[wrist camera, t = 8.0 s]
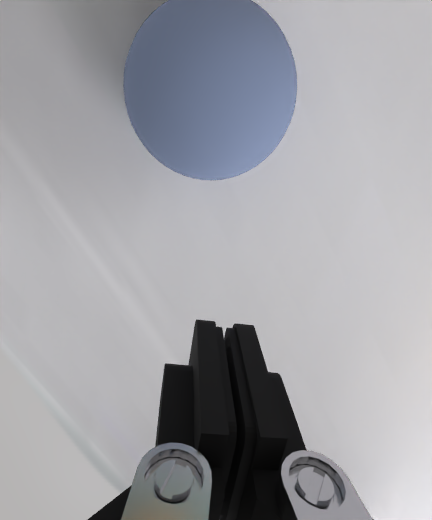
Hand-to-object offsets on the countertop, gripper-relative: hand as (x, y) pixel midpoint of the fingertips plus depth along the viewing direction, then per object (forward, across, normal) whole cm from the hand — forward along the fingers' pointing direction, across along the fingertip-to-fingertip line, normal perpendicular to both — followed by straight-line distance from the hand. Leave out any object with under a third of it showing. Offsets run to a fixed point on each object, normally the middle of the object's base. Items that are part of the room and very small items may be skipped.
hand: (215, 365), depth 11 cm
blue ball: (+4, +1, -7) cm, 9 cm away
